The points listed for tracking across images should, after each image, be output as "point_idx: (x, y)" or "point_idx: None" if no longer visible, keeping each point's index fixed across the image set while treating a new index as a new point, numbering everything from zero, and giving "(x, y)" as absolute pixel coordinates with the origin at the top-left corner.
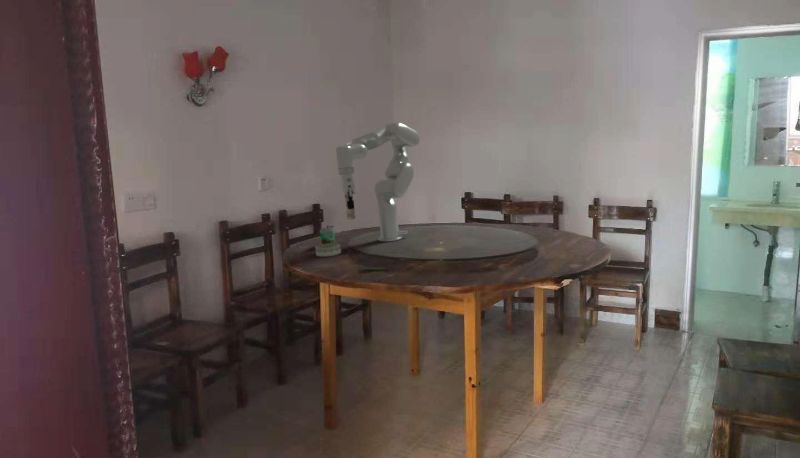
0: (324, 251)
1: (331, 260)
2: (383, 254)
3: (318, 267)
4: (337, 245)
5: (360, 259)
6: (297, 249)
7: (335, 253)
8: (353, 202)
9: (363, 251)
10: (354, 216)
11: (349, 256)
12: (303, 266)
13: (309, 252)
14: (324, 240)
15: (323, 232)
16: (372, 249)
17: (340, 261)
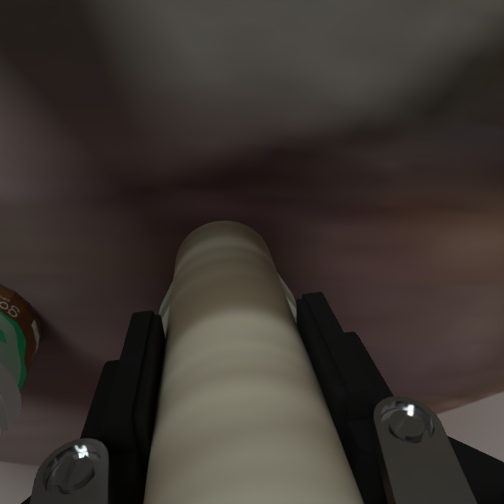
0: None
1: (401, 302)
2: (481, 13)
3: (491, 349)
4: None
5: (495, 171)
6: (17, 444)
7: (286, 286)
8: (356, 362)
9: (296, 127)
10: (260, 241)
11: (377, 218)
12: (425, 398)
13: None
14: (27, 358)
15: (17, 399)
16: (270, 57)
17: (456, 266)
